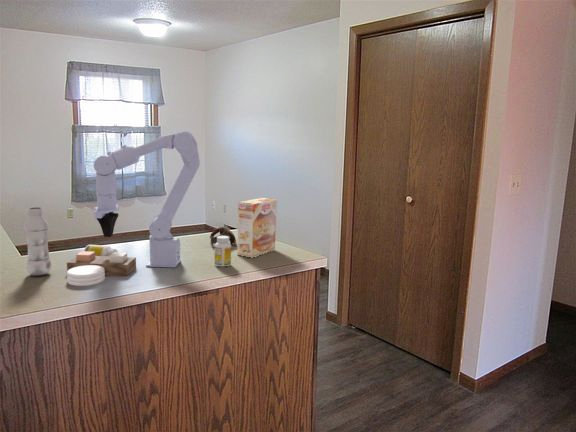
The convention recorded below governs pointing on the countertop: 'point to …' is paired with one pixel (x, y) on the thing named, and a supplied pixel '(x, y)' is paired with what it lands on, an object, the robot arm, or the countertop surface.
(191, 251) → the countertop surface
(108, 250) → the supplement bottle
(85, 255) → the key terracotta
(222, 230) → the dark brown tangled clump
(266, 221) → the coffeecake box
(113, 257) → the key offwhite
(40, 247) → the plastic bottle
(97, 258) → the switch box
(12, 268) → the countertop surface
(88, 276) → the coaster
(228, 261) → the supplement bottle
